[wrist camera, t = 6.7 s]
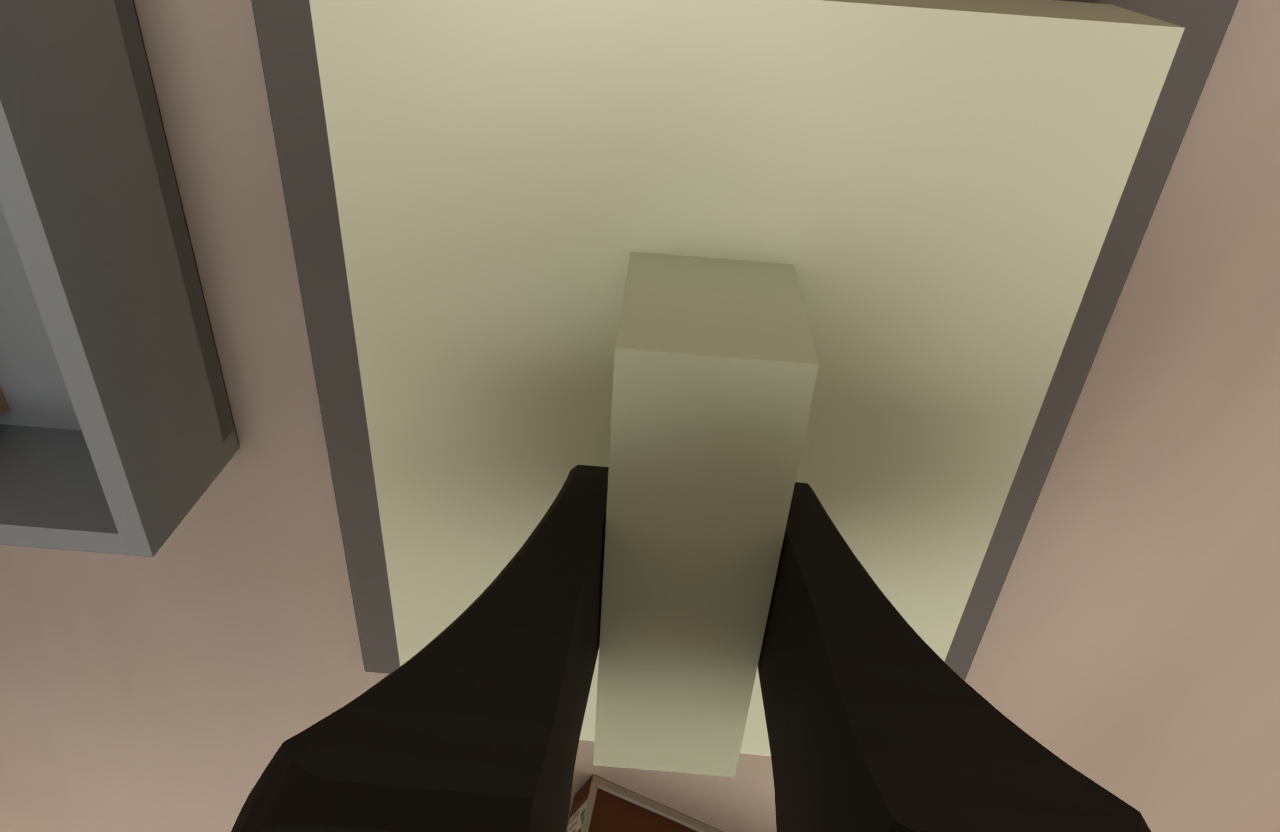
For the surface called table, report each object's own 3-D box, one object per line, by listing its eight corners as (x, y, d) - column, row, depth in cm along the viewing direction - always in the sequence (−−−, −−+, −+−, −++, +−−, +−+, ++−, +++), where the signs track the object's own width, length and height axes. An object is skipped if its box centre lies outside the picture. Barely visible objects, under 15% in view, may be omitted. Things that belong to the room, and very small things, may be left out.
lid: (433, 648, 21) (363, 858, 16) (361, -53, 12) (183, -11, 8) (885, 686, 20) (937, 907, 16) (1111, 4, 12) (1340, 76, 8)
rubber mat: (368, 661, 22) (365, 671, 22) (229, -185, 12) (219, -186, 12) (945, 710, 22) (948, 720, 22) (1269, -108, 12) (1281, -108, 12)
